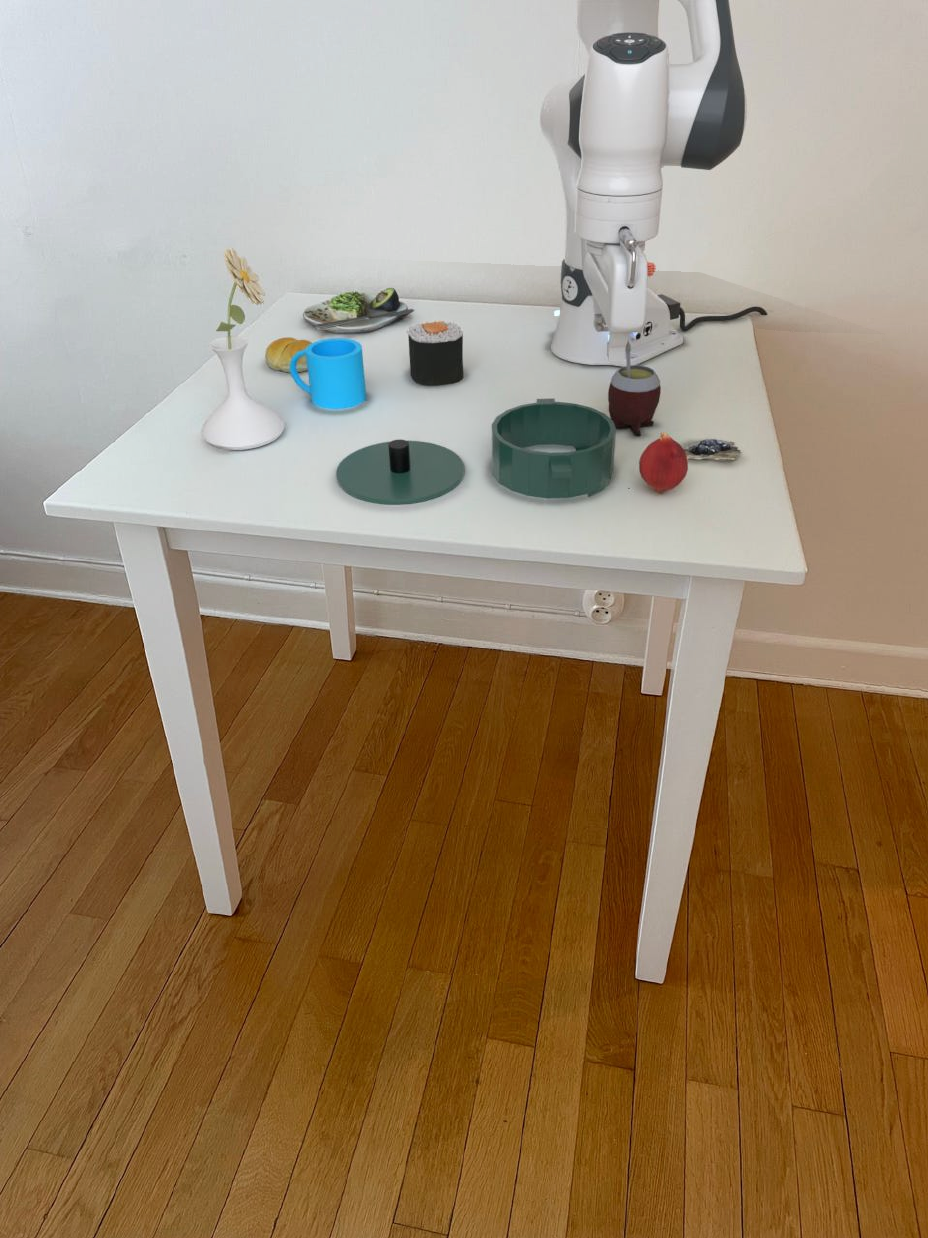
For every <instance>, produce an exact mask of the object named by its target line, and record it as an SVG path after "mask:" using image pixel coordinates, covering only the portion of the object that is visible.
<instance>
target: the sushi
mask: <svg viewBox="0 0 928 1238" xmlns="http://www.w3.org/2000/svg"><path fill="white" fill-rule="evenodd" d="M406 333H407V337H408V353H409V354H408V356H409V370H410V371H409V372H410V373H409V374H410V377H411V379H412V380H413V381H414V382H415V383H416V384H418V385H421V386H430V387H431V386H432V387H433V386H435V387H436V386H445V385H452V384H456V383H459V382H460V381H462V380H463V379H464V358H463V357H464V355H463V354H464V353H463V352H464V347H463V346H464V331H462V327H461V326H459V325H457V324H455V323H454V322H451V321H443V320H439V321H436V320H434V321H433V322H432V321H431V322H428V321H425V323H423V322H422V323H421V322H419V323H418V324H416V325H414V326H409V327H408V329H407V330H406Z"/></svg>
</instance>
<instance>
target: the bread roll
mask: <svg viewBox="0 0 928 1238" xmlns="http://www.w3.org/2000/svg"><path fill="white" fill-rule="evenodd" d="M312 343H313V342H312V341H309V340H307V339H296V338H294V337H280V338H278V339H276V340H273V342H271V343H270V344H268V346H267V348H266V349H265V355H264V357H265V362H266V365H267V366H268V367H269V368H270V369H272V370H275V371H282V372H284V373H290V362H291V360H292V357H293V356H294V355H295V354H296V353H298V352H299V351H302V350H305V349H306V347H307V346H309V345H310V344H312ZM296 369H297V372H298V373H301V372H306V371H308V368H307V360H306V355H304V356H302V357H301V358H299V360H298V362H297V368H296Z"/></svg>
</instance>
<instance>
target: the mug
mask: <svg viewBox="0 0 928 1238" xmlns="http://www.w3.org/2000/svg"><path fill="white" fill-rule="evenodd" d="M304 355H306V360H307V368H308V370H307V375H308V384H309V385H308V384H307V383H306V382H305V381H303V379H302V377H301V376H300V375H299V372H297V369H296V368H297V362H298V360H299V358H301V357H302V356H304ZM363 356H364V355H363V345H362V344H361V343H360V342H359V341H356V340H355V339H350V338H343V337H333V338H332V337H331V338H325V339H320V340H317V341H314V342H312V344H310V345H309V346H307V347H306V349H305V350H302V351H299V352H298V353H296V354H295V355H294V356H293V357H292V360H291V362H290V372H289V374H290V376H291V378H292V379H293V381H294V383H295V384H296V386H298V387H300V389H301V390H302V391H305V392H306V393H308V394H309V395H310V398H311V403H312V405H314V406H316V407H318V408H321V409H324V410H325V409H326V410H344V409H350V408H353V407H356V406H359V405H361V404H362V403H364V402H367V392H366V391H367V389H366V379H365V378H366V377H365V369H364V368H365V367H364V357H363Z"/></svg>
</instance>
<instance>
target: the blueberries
mask: <svg viewBox="0 0 928 1238" xmlns="http://www.w3.org/2000/svg"><path fill="white" fill-rule="evenodd" d="M735 445H736V442H734V441H727V440H723V439H717V438H710V439H709V438H705V439H701V440H699V441H696V442H695V441H694V442H692V443H691V444H690V443H689V444H688V445H687V446H685V447H682V448H683V449H684V451H685V453H686V456H687V460H690V459H693V460H695V461H696V460H698V461H699V460H705V459H709V460H713V461H716V460H719V461H721V462H724V463H725V462H728V463H729V462H733V461H734V460H736V459H737V458H738V457H739V455H740V454H742V451H741V449H739V447H738V446H735Z"/></svg>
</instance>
